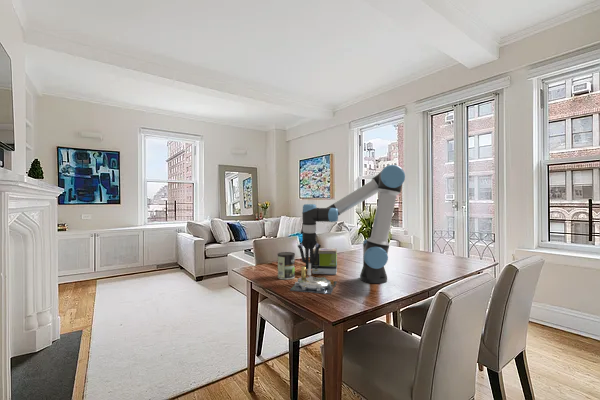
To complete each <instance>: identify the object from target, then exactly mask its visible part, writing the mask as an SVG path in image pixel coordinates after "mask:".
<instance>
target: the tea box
mask: <svg viewBox="0 0 600 400" xmlns="http://www.w3.org/2000/svg"><path fill="white" fill-rule="evenodd" d="M315 248H316V247H314V248H313V257H314V253H315ZM337 273H338V249H337V248H332V247H331V248H327V247H325V248H323V247H322V248H321V247H320V248H319V251H318V255H317V259H316V262H313V269H311V275H312V274H314V275H315V274H317V275H337Z"/></svg>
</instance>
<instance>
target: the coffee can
mask: <svg viewBox="0 0 600 400" xmlns="http://www.w3.org/2000/svg"><path fill="white" fill-rule="evenodd" d="M295 257H296V254H295V252H291V251H283V252H282V251H281V252H278V253H277V279H279V280H294V279H295V277H296V275H295V273H296V272H295V271H296V267H295V266H296V265H295V262H296V261H295V260H296V258H295Z"/></svg>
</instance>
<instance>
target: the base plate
mask: <svg viewBox="0 0 600 400" xmlns="http://www.w3.org/2000/svg"><path fill="white" fill-rule="evenodd" d="M333 281H334V285H332V288H331V289H328V288H327V289H323V290H321V291H316V290H308V289H307V290H302V288H301V287H299V286H295V284H293V286H291V288H290V289H289V292H301V293H310V294H311V293H312V294H313V293H314V294H322V295H323V294H324V295H332V293H333V291H334V289H335V287H336V285H337V283H338V281H336V280H333Z"/></svg>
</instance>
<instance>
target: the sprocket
mask: <svg viewBox="0 0 600 400" xmlns="http://www.w3.org/2000/svg"><path fill="white" fill-rule="evenodd" d="M300 269H301V270H300V271H301V272H300V273H301V277H299V278H297V281H295V282H294V285H295V286H299V287H301V288H302V290H307V289H308V290H316V291H321V290H323V289H327V288H328V289H331V288H332V285H334V281H335V280H334V279H330V280H329V279H327V278H326V277H325V276H322V277H316V276H312V275H309V276H308V277H306V276H307V269H306V265H303V266H301V268H300Z"/></svg>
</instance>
